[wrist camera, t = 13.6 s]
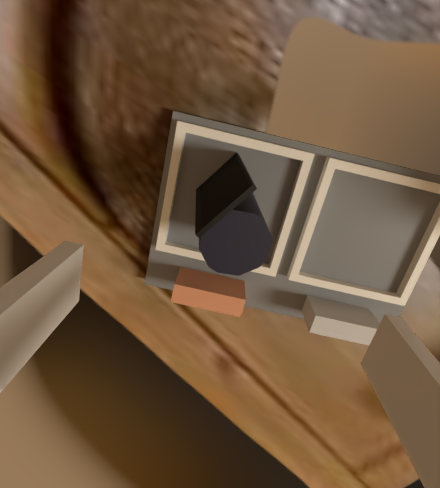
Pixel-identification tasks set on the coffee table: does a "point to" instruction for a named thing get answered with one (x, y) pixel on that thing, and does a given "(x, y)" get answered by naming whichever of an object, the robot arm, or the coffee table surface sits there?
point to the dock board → (298, 229)
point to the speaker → (231, 221)
